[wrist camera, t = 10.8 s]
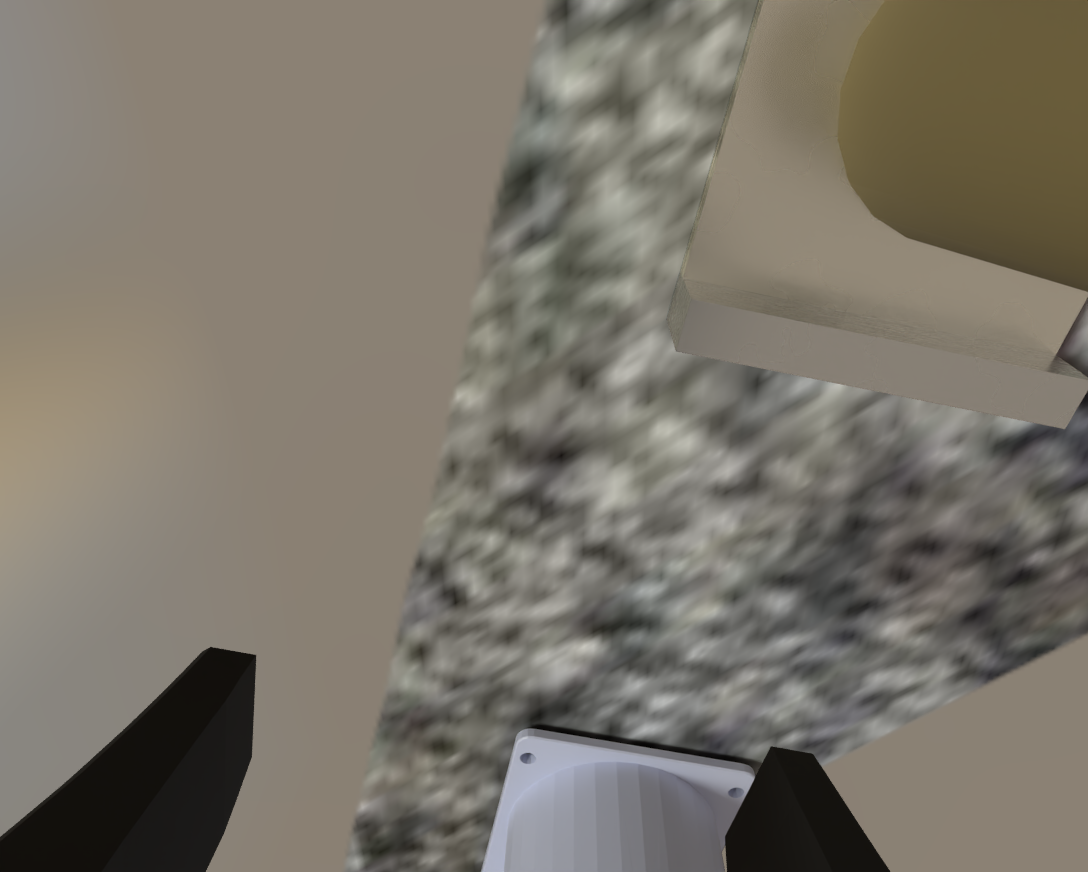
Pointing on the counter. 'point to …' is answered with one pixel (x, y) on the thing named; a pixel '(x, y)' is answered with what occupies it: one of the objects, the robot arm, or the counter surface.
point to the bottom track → (850, 253)
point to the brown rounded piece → (975, 129)
